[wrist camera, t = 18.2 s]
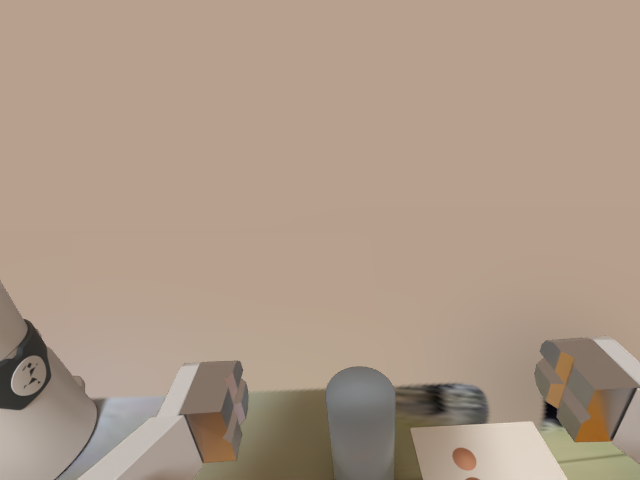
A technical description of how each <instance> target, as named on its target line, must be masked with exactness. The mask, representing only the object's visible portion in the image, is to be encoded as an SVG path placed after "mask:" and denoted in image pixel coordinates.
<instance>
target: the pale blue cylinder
mask: <svg viewBox="0 0 640 480" xmlns="http://www.w3.org/2000/svg"><path fill="white" fill-rule="evenodd" d="M395 399H396V395H395V390H394V387H393V385H392V383H391V382H390V380H389V379H388V378H387V377H386V376H385V375H383V374H382V373H381V372H379V371H377V370H374V369H372V368H368V367H350V368H347V369H344V370H342V371H340V372H338V373H337V374H336V375H335V376H334V377H333V378H332V379H331V380H330V382H329V383H328V385H327V388H326V405H327V414H328V423H329V432H330V440H331V449H332V458H333V467H334V476H335V480H394V456H395Z"/></svg>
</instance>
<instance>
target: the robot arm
mask: <svg viewBox="0 0 640 480" xmlns="http://www.w3.org/2000/svg"><path fill="white" fill-rule="evenodd" d="M540 352H541V354H542V355H543V357H544V358H543V359H542V360H541V361H539V362H538V363H537V364H536V369H535V379H536V385H537V387H538V389H539V391H540V393H541V395H542V396H543V398H544V399H545V401H546V402H548V403H549V404H551V405H553V406H554V407H556V408H557V418H558V419H559V421H560V422H561V424H562V425H563V426H564V428H565V429H566V431H567V432H568V434H569V435H570V436H571V438H572V439H573V441H574V442H607V441H612V444H613V445H614V446H616V447H617V448H618V449H620V450H621V451H622V452H624V453H625V454H627V455H628V456H629V457H631V458H632V459H633V460H635V461H636V462H637V463H639V464H640V362H639V361H637V360H636V359H635V358H634V357H633V356H632V355H631V354H630V353H629V352H627V351H626V350H625V349H624V348H623V347H622V346H621V345H620V344H618V343H617V342H616V341H615V340H614V339H612V338H610V337H608V336H599V337H586V338H572V339H559V340H546V341H545V342H544V343H543V344H542V346H541V349H540ZM242 372H243V369H242V366H241V362H240V361H216V362H202V363H201V362H200V363H184V364H183V365H182V366H181V367H180V369H179V371H178V373H177V375H176V377H175V379H174V381H173V383H172V385H171V388H170V389H169V391H168V393H167V396H166V398H165V400H164V402H163V404H162V406H161V408H160V410H159V412H158V414H157V416H156V417H150V418H149V419H148V420H147V421H145V422H144V423H143V424H142V425H141V426H140V427H138V428H137V429H136V430H135V431H134V432H132V433H131V434H130V435H129V436H128V437H127V438H125V439H124V440H123V441H122V442H121V443H120V444H118V445H117V446H116V447H115V448H114V449H112V450H111V451H110V452H109V453H108V454H107V455H105V456H104V457H103V458H102V459H101V460H99V461H98V462H97V463H96V464H95V465H94V466H92V467H91V468H90V469H89V470H88V471H87V472H85V473H84V474H83V475H82V476H81V477H79V478H78V479H77V480H192V479H193V478H194V477H195V476H196V474H197V473H198V472H199V470H200V469H201V468H202V466H203V463H210V462H222V461H234V460H237V455H238V451H239V446H240V442H241V437H242V432H241V429H240V424H241V423H242V422H243V421H244V420H245V419H246V414H247V409H248V389H247V384H246V382H245V381H244V380H243V379H241V376H242ZM96 419H97V409H96V406H95V404H94V402H93V401H92V400H91V399H90V398H89V397H88V396H87V395H86V394H85V383H84V381H83V380H82V378H81V377H79V376H72V375H71V374H70V372H69V371H68V369H67V368H66V367H65V366H64V364H63V363H62V362H61V361H60V359H59V358H58V357H57V356H56V354H55V353H54V352H53V351H52V350H51V349H50V348H49V347H47V346H46V345H45V343H44V342H43V340H42V338H41V334H40V333H39V331H38V330H37V329H35V328H34V326H33V325H32V323H31V322H30V321H28V320H26V319H23V318H22V316H21V315H20V313H19V311H18V309H17V308H16V306H15V304H14V303H13V301H12V299H11V298H10V296H9V294H8V293H7V291H6V289H5V288H4V286H3V284H2V283H1V281H0V480H54V479H55V478H56V477H57V476H58V475H60V474H61V473H62V472H63V471H64V470H65V469H66V468H67V467H68V466H69V465H70V463H71V462H72V461H73V460H74V459H75V458H76V457H77V455H78V454H79V453H80V451H81V450H82V449H83V447H84V446H85V444H86V443H87V441H88V439H89V438H90V436H91V434H92V432H93V429H94V427H95V423H96Z"/></svg>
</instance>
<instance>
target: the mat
mask: <svg viewBox="0 0 640 480" xmlns="http://www.w3.org/2000/svg"><path fill="white" fill-rule="evenodd" d="M410 431H411V435H412V439H413V443H414V447H415V451H416V455H417V458H418V462H419V466H420V470H421V474H422V478H423V480H568V479H567V478H566V476H565V474H564V473H563V471H562V470H561V468H560V466H559V465H558V463H557V461H556V460H555V458H554V456H553V455H552V453H551V452H550V450H549V448H548V447H547V445H546V443H545V442H544V440H543V438H542V437H541V435H540V434H539V432H538V430H537V429H536V427H535V425H534V424H533V422H532V421H527V422H509V423H490V424H472V425H454V426H436V427H417V428H410Z"/></svg>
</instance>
